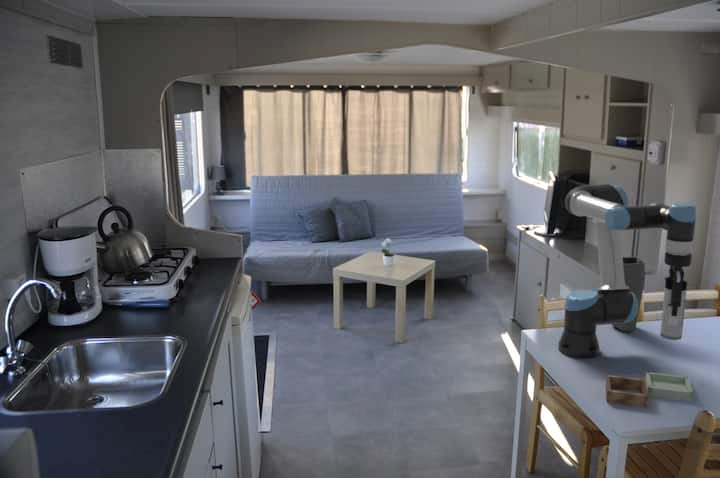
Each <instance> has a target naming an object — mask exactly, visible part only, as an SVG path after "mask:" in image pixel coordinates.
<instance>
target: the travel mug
mask: <svg viewBox="0 0 720 478" xmlns="http://www.w3.org/2000/svg"><path fill="white" fill-rule="evenodd" d="M664 280H665V284H664V290H663V291H664V292H663V293H664V295H663V301H662V302H663V305H662V312H661V313H662V314H661V322H660V324H661V325H660V336H661V337H662V338H663V339H666V340H671V341H678V340H681V339H682V338H683V337H682V336H683V328H684V319H685V310H686V301H687V299H686V298H687V289H688V288H687V286H688V281H686V280H683V284H682V294H681V306H680V307H679V317H678V326H676V325H668V318H669V308H670V306H668V304H670V303H671V292H672V284H671V279H669V276H668V277H665V278H664ZM672 282H673V281H672Z"/></svg>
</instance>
